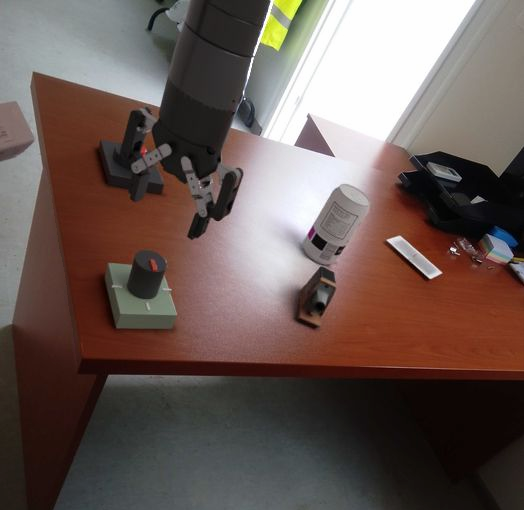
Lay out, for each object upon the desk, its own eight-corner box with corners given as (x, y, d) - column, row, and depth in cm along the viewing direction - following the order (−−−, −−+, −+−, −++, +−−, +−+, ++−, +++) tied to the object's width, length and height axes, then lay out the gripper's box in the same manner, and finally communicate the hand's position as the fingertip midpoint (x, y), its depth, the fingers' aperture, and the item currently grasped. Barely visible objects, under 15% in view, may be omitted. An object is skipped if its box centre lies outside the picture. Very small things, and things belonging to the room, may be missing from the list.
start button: (121, 146, 87) (122, 138, 85) (142, 151, 89) (144, 143, 87) (125, 158, 84) (126, 149, 83) (146, 162, 87) (148, 154, 85)
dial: (124, 276, 65) (132, 246, 61) (154, 278, 67) (163, 249, 64) (129, 298, 63) (138, 268, 59) (160, 300, 65) (171, 271, 61)
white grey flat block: (397, 238, 122) (402, 232, 120) (439, 276, 117) (445, 269, 116) (383, 243, 116) (388, 236, 115) (427, 282, 112) (433, 276, 110)
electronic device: (295, 321, 80) (316, 290, 75) (299, 290, 87) (318, 259, 82) (317, 331, 81) (339, 301, 76) (319, 299, 88) (340, 270, 83)
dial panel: (102, 277, 67) (106, 261, 65) (158, 281, 72) (163, 266, 70) (113, 328, 62) (118, 312, 60) (173, 329, 67) (179, 314, 65)
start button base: (98, 149, 89) (101, 130, 87) (148, 160, 95) (153, 142, 92) (108, 185, 83) (112, 165, 80) (161, 194, 88) (166, 176, 86)
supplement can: (295, 240, 98) (329, 179, 88) (323, 242, 103) (359, 185, 93) (311, 265, 94) (349, 204, 84) (340, 267, 99) (380, 209, 89)
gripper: (125, 50, 44) (98, 195, 54) (248, 130, 43) (197, 261, 54) (167, 47, 49) (135, 179, 60) (277, 118, 49) (225, 238, 60)
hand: (164, 218), depth 57 cm, fingers open, 8 cm apart
